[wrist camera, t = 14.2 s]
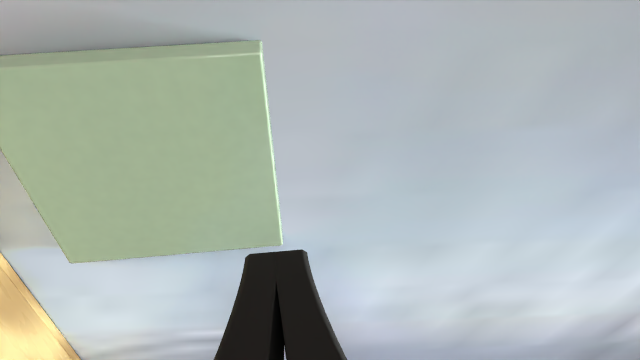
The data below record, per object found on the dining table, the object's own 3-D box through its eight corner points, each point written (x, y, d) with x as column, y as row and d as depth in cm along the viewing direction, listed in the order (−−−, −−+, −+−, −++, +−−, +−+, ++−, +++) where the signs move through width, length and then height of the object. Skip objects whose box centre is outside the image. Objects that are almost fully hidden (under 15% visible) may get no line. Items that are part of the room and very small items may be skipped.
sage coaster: (283, 246, 17) (69, 264, 16) (282, 229, 17) (76, 246, 17) (261, 52, 12) (-49, 71, 11) (261, 38, 12) (-33, 56, 12)
